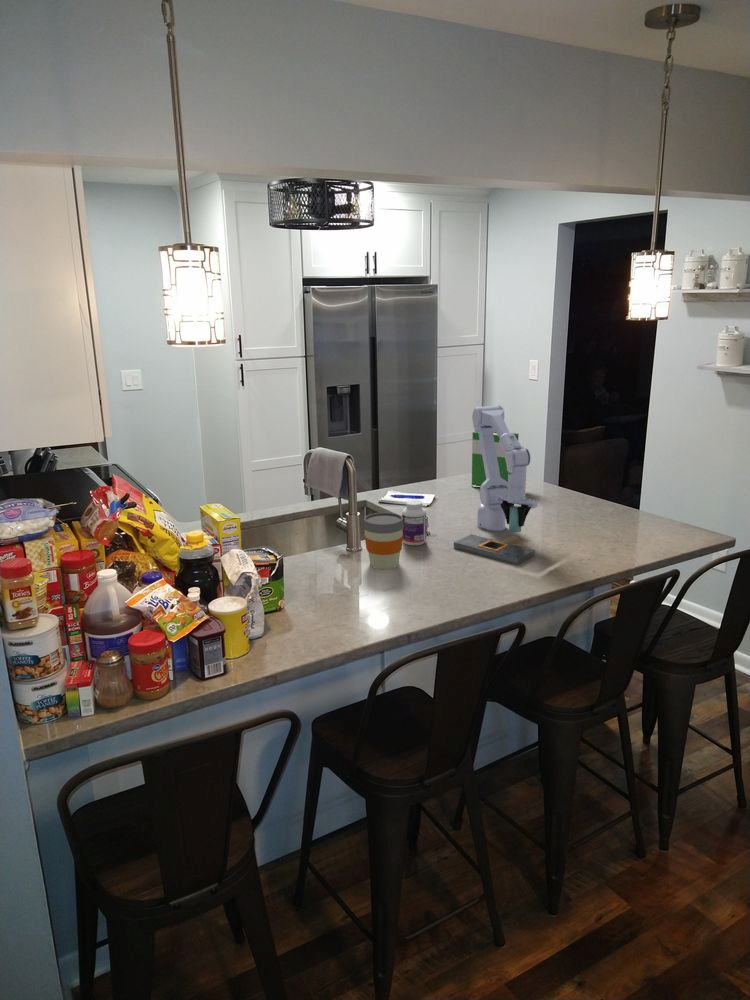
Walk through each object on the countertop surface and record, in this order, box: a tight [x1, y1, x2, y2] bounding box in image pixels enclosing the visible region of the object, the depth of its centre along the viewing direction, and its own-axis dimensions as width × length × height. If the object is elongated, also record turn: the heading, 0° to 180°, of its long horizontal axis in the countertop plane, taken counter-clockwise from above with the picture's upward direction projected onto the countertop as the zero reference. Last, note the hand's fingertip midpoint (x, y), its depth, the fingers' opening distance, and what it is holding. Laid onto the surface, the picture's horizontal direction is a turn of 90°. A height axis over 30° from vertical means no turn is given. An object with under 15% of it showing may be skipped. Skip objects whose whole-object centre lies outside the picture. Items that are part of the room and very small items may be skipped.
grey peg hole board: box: [453, 533, 535, 569], centre depth 228 cm, size 24×10×3 cm, turn 48°
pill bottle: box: [401, 499, 427, 547], centre depth 239 cm, size 8×8×14 cm
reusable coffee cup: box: [363, 512, 404, 570], centre depth 221 cm, size 13×12×15 cm
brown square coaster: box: [499, 535, 532, 547], centre depth 238 cm, size 8×8×1 cm
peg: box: [508, 505, 522, 533], centre depth 236 cm, size 4×4×8 cm
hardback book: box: [471, 431, 519, 488], centre depth 302 cm, size 18×7×24 cm, turn 52°
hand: (515, 524), depth 236 cm, fingers closed on peg, 4 cm apart
